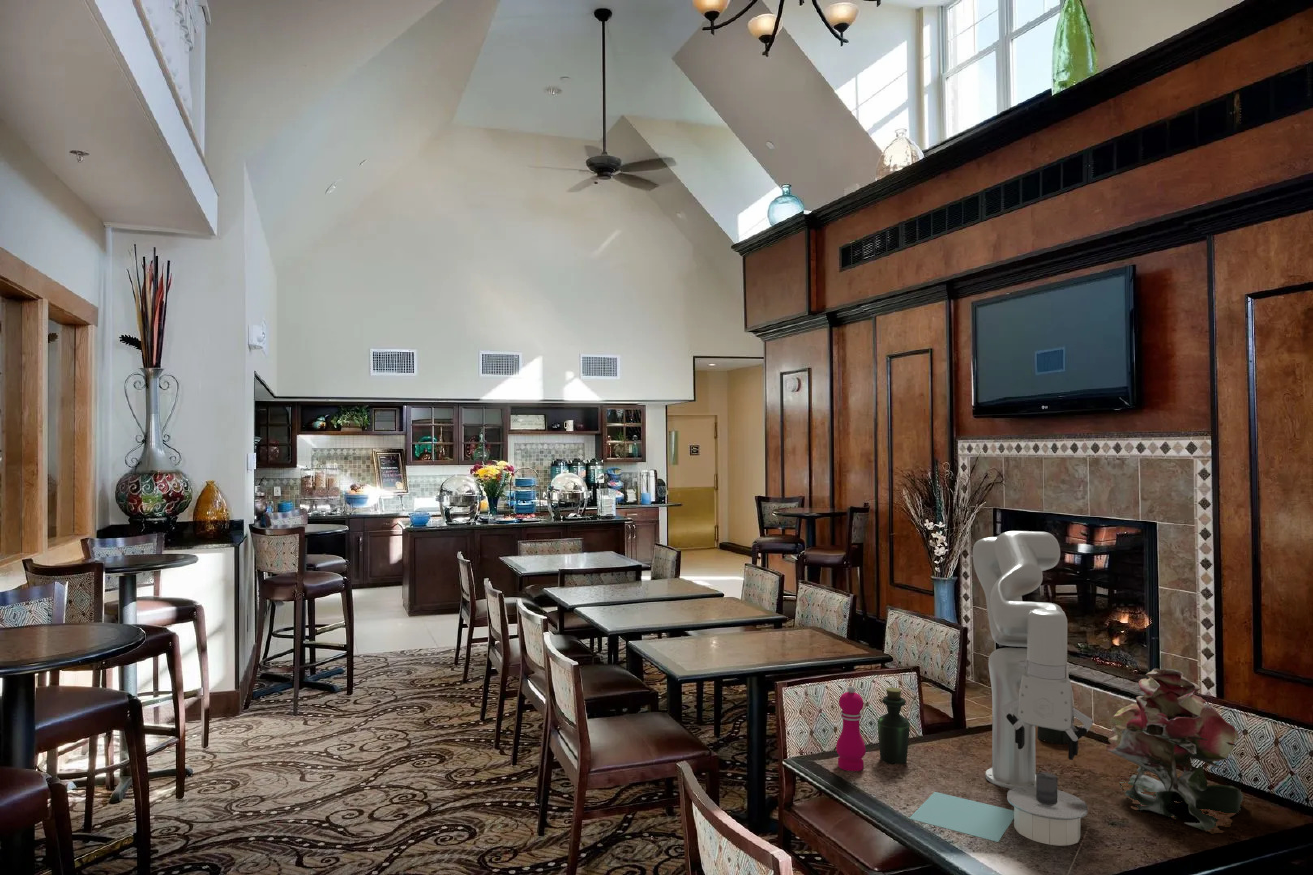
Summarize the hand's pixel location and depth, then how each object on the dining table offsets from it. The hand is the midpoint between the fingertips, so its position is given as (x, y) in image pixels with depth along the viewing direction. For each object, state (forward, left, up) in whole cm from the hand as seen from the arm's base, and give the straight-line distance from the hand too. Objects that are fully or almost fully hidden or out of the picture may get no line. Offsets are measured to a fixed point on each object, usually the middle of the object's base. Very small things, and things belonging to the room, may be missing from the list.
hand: (1045, 752), depth 172 cm
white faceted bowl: (+1, 0, -16) cm, 16 cm away
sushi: (-65, -10, -17) cm, 68 cm away
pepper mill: (-10, -47, -17) cm, 51 cm away
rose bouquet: (-35, +20, -17) cm, 43 cm away
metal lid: (+1, 0, -10) cm, 10 cm away
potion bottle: (-21, -40, -17) cm, 48 cm away
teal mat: (+3, -16, -16) cm, 23 cm away
